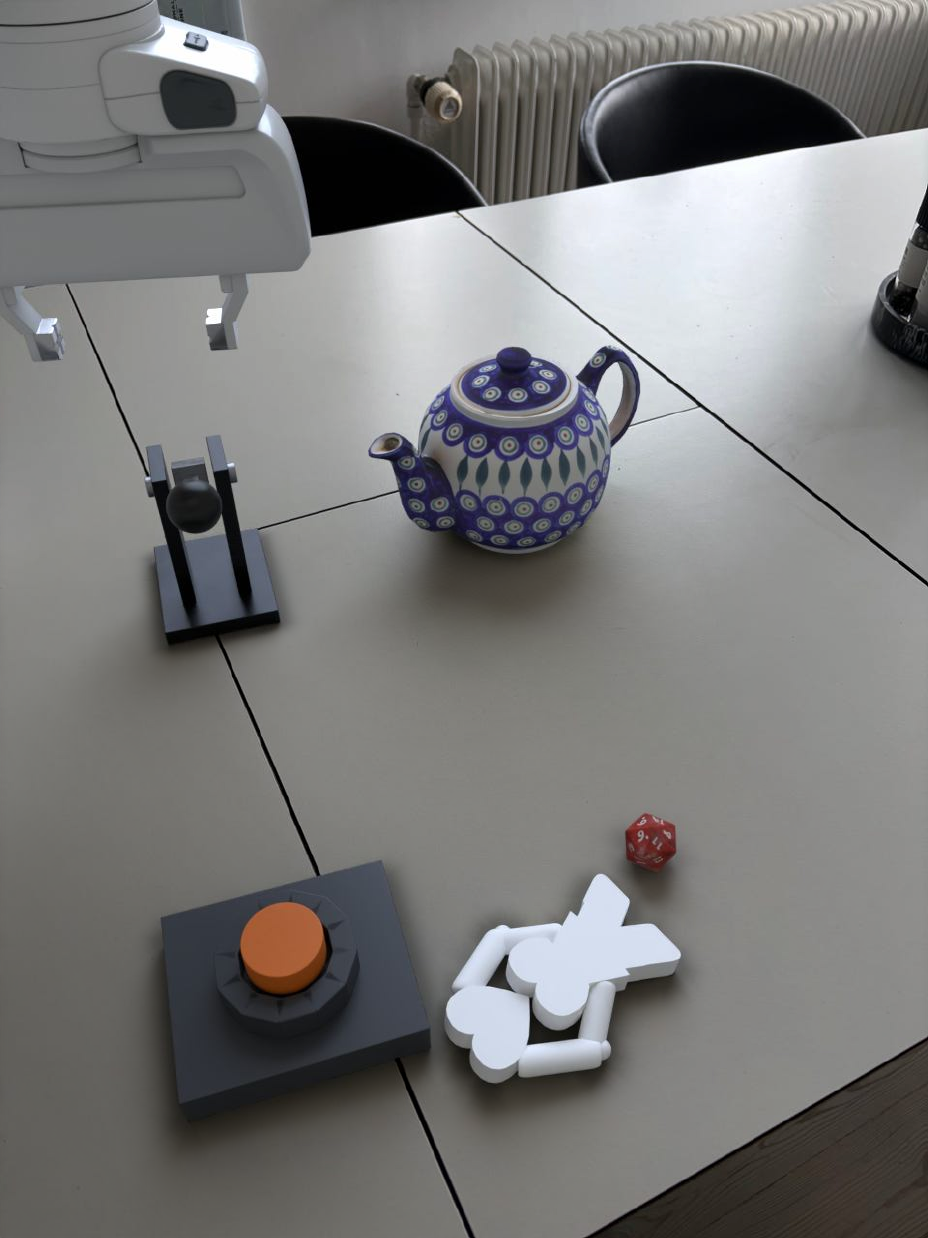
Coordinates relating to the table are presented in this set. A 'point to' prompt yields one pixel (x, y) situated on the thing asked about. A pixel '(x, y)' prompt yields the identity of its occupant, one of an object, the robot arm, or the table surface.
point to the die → (650, 842)
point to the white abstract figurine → (553, 987)
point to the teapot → (512, 450)
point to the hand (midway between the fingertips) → (138, 350)
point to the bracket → (209, 563)
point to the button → (283, 948)
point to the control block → (289, 995)
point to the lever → (193, 498)
